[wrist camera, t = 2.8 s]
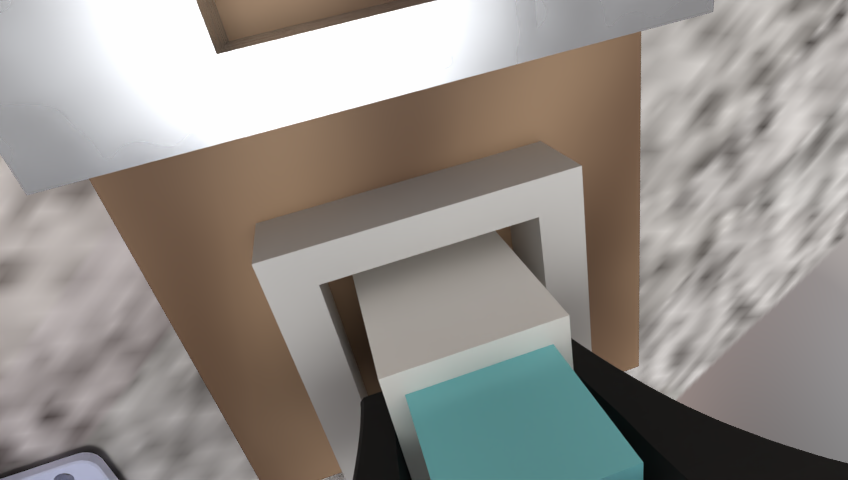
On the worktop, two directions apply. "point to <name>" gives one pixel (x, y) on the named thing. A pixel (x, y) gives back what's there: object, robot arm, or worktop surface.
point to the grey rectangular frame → (407, 236)
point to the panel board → (356, 173)
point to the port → (251, 69)
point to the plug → (484, 370)
